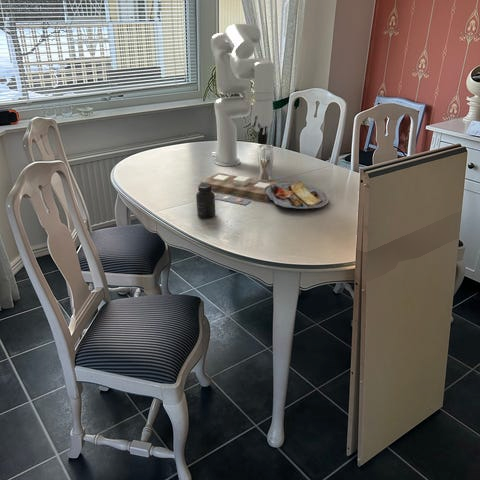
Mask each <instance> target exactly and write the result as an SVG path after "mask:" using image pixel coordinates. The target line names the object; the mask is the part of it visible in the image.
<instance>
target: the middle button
mask: <svg viewBox="0 0 480 480" xmlns="http://www.w3.org/2000/svg"><path fill="white" fill-rule="evenodd" d="M237 176H238V177H236V178H234V179H233V184H234V185H239V186H245V185H247V184H249V183H250V179H251V178H250V177H246V176H241V175H237Z"/></svg>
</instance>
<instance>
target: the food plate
mask: <svg viewBox="0 0 480 480" xmlns="http://www.w3.org/2000/svg"><path fill="white" fill-rule="evenodd" d="M275 183H276V184H273V185H271V186H268V188H267V189H266V191H265V192H266V193H267V195H268V196H269V197H270V198H271V201H273V203H274V204H275V205H278V206H280V207H282V208H291V209H292V208H293V209H303V210H305V209H315V208H321V207H323V206H325V205H327V204H328V202H329V197H328V195H327V194H326V193H325V192H323V191H322V190H320V189H318V187H314V186H312V185H309V184H304V183H302V181H300V180H299V181H297V182H292V181H291V182H285V181H284V182H275Z"/></svg>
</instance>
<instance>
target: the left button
mask: <svg viewBox="0 0 480 480" xmlns="http://www.w3.org/2000/svg"><path fill="white" fill-rule="evenodd" d="M227 180H229V176H224V175H218V176H216V177H214V178H213V181H218V182H223V183H224V182H225V181H227Z"/></svg>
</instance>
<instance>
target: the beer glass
mask: <svg viewBox="0 0 480 480" xmlns="http://www.w3.org/2000/svg"><path fill="white" fill-rule="evenodd" d="M274 149H275V148H274V145H273V144H260V145H259V146H258V152H257V154H258V156H257V157H258V158H257V161H258V166H259V177H258V180H262V181H267V182H272V181H273V172H272V170H273V165H274V160H275V150H274Z"/></svg>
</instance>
